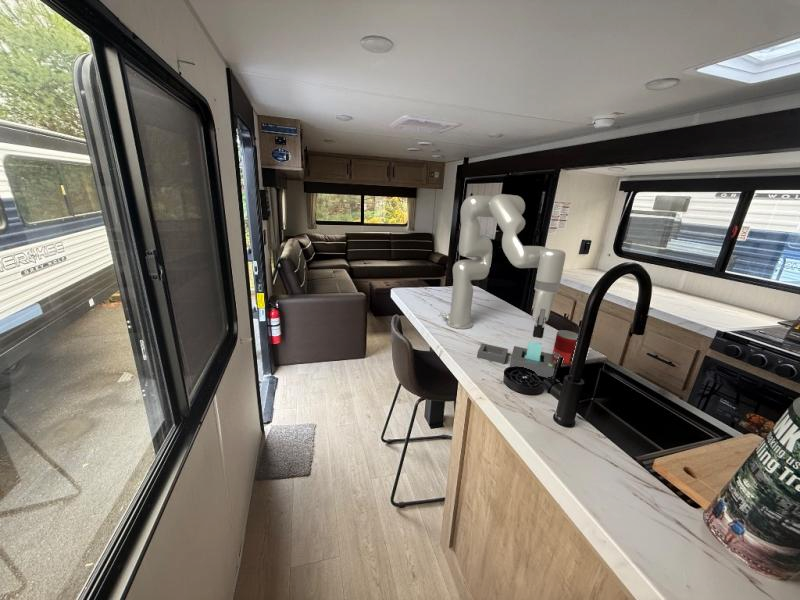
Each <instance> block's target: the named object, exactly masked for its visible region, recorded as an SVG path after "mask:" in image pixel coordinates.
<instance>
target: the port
mask: <svg viewBox="0 0 800 600" xmlns="http://www.w3.org/2000/svg"><path fill="white" fill-rule="evenodd" d="M527 349H528V348H527V347H526V348H525V347H522V346H521V347H520V346H516V345H513V349H512V353H511V356H510V360H509V361H510V362H509V367H514V366H519V367H524V368H527V369H530V370H532V371H534V372H535V373H536V374H537V375H536V376H539V377H543V378H545V379H546V378H547V379H549V378H548V377H551V376H554V374H555V368H556V367H555V366H556V365H555V360H554V354H553V353H548V352H545V351H541V355H540V358H541V362H540V361H535V360H531V359H527V358H524V357H525V355H526V354H527Z"/></svg>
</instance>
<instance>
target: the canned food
mask: <svg viewBox="0 0 800 600" xmlns="http://www.w3.org/2000/svg"><path fill="white" fill-rule="evenodd" d="M578 334H579V333H577V332H574V331H570V330H564V329H563V330H562V329H561V330H560V329H559V330H557V332H556V336H555V341H554V345H553V350H552V354H554V362H556V363H558V362H557V360H558V357H559V356H562V357H563V358H564V360H563V364H562V365H565V364H566V366H571V365H570V364H571V362H572V358H573V354H574V350H575V346H576V342H577V338H578Z"/></svg>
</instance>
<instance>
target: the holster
mask: <svg viewBox="0 0 800 600" xmlns="http://www.w3.org/2000/svg"><path fill="white" fill-rule="evenodd" d="M508 351H509V348H505V347H502V346H497V345H491V344H488V343H483V342H482V343H481V344H480V346H479V348H478V350H477V353H476V358H479V359H481V360H487V361H491V362H495V363H498V364H501V365H502V364H503V365H505V363H506V359H507V356H508Z"/></svg>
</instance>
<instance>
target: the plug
mask: <svg viewBox="0 0 800 600" xmlns="http://www.w3.org/2000/svg"><path fill="white" fill-rule="evenodd" d="M526 349H527V354H526V355H525V357H524V358H527V359H531V360H535V361H540V362H541V358H540V355H541V352H542V350H543V343H541V342H535V341H532V340H529V341H528V345H527V348H526Z"/></svg>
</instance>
